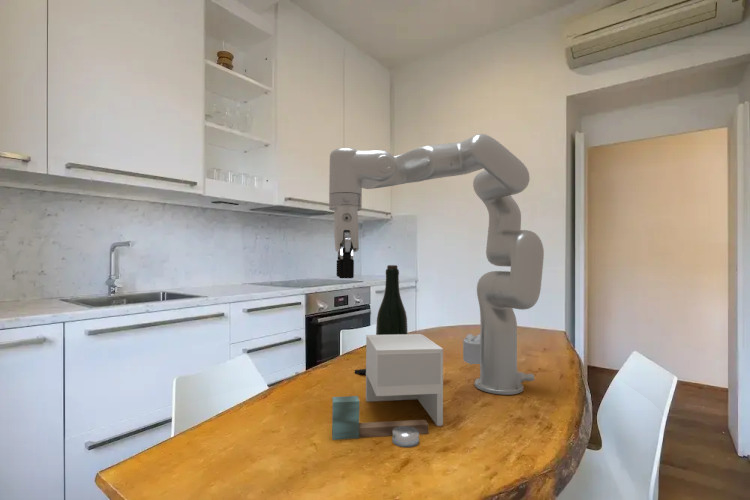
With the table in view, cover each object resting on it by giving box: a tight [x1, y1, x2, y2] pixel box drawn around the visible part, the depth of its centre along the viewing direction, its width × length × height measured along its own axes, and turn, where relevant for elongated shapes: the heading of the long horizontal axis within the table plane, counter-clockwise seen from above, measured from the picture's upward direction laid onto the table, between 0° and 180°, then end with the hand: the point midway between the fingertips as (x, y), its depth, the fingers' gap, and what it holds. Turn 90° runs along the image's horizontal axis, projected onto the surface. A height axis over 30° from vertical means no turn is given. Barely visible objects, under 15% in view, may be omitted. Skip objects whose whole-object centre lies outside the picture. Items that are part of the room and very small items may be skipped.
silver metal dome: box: [391, 426, 420, 449], centre depth 73 cm, size 5×5×2 cm
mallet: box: [331, 395, 429, 441], centre depth 77 cm, size 19×3×7 cm, turn 98°
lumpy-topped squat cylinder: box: [462, 333, 480, 365], centre depth 135 cm, size 10×13×9 cm
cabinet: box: [365, 333, 444, 427], centre depth 88 cm, size 14×17×16 cm
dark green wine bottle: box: [375, 264, 409, 335], centre depth 126 cm, size 10×10×33 cm
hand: (344, 277), depth 89 cm, fingers open, 9 cm apart
